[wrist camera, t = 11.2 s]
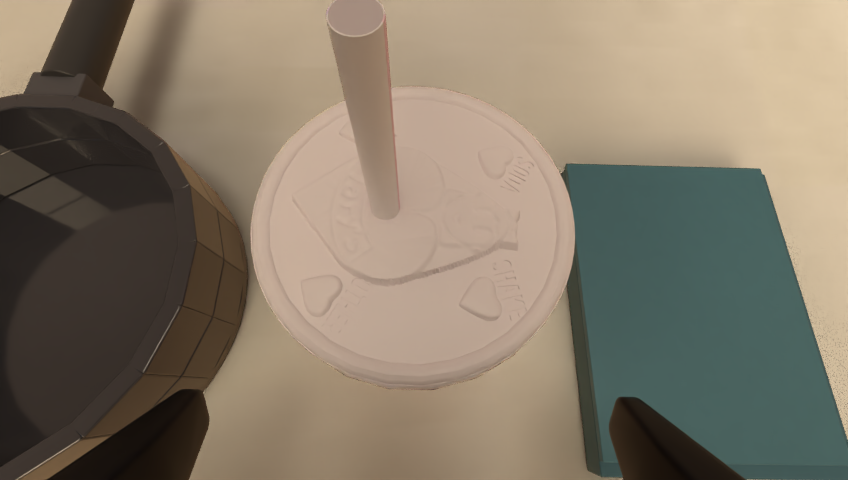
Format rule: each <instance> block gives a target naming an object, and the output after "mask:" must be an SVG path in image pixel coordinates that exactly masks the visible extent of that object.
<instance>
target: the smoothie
mask: <svg viewBox="0 0 848 480" xmlns="http://www.w3.org/2000/svg"><path fill="white" fill-rule="evenodd" d="M326 21H327V25H328V29H329V33H330V37H331V42H332V46H333V50H334V54H335V59H336V63H337V67H338V71H339V76H340V80H341V84H342V88H343V92H344V97H345V100H344V101H341V102H339V103H337V104H335V105H333V106H331V107H329V108H328V109H326V110H324V111H323V112H321V113H320V114H318V115H316V116H315V117H314V118H312V119H311V120H310V121H308V122H307V123H306V124H304V125H303V126H302V127H301V128H300V129H299V130H298V131H297V132H296V133H294V134H293V136H292V137H291V138H290V139H289V140H288V141H287V142H286V143H285V144H284V146H283V147H282V148H281V149H280V151H279V152H278V153H277V155H276V156H275V158H274V159H273V161H272V163H271V164H270V166H269V167H268V169H267V171H266V173H265V175H264V177H263V179H262V182H261V185H260V187H259V190H258V193H257V196H256V200H255V203H254V207H253V213H252V220H251V236H250V238H251V253H252V259H253V265H254V269H255V273H256V276H257V280H258V283H259V285H260V288H261V290H262V292H263V295H264V297H265V299H266V301H267V303H268V304H269V306H270V308H271V310H272V312H273V313H274V314H275V316H276V317H277V319H278V320H279V322H280V323H281V324H282V326H283V327H284V328H285V329H286V330H287V331H288V332H289V334H290V335H291V336H292V337H293V338H294V339H295V340H296V341H297V342H299V343H300V344H301V345H302V346H303V347H304V348H305V349H306V350H308V351H309V352H310V353H311V354H313V355H314V356H316V357H317V358H319V359H320V360H322V361H323V362H325V363H326V364H328V365H330V366H331V367H333V368H334V369H336V370H337V371H339V372H340V373H342V374H343V375H345V376H347V377H350V378H353V379H357V380H360V381H363V382H367V383H370V384H373V385H377V386H380V387H383V388H387V389H414V390H435V389H438V388H442V387H446V386H449V385H453V384H457V383H460V382H464V381H468V380H471V379H475V378H478V377H479V376H481V375H483V374H484V373H486V372H487V371H489V370H491V369H492V368H494V367H496V366H497V365H499V364H501V363H502V362H504V361H505V360H507V359H509V358H510V357H512V356H514V355H515V353H516V352H517V351H518V350H519V349H520V348H522V347H523V346H524V345H525V344H526V343H527V342H528V341H529V340H530V339H531V338H532V337H533V336H534V335H535V334H536V333H537V332H538V331H539V330H540V328H541V327H542V326H543V325H544V324H545V322H546V321H547V320H548V318H549V317H550V315H551V314H552V312H553V311H554V309H555V307H556V305H557V304H558V302H559V300H560V298H561V296H562V294H563V291H564V289H565V286H566V284H567V281H568V278H569V274H570V271H571V267H572V262H573V256H574V246H575V224H574V217H573V210H572V206H571V202H570V198H569V194H568V191H567V189H566V186H565V183H564V181H563V179H562V177H561V175H560V172H559V170H558V168H557V167H556V165H555V164H554V162H553V160H552V159H551V157H550V156H549V154H548V153H547V152H546V150H545V149H544V147H543V146H542V145H541V144H540V143H539V142H538V141H537V139H536V138H535V137H534V136H533V135H532V134H531V133H530V132H529V131H528V130H527V129H526V128H524V127H523V126H522V125H521V124H520V123H518V122H517V121H516V120H515V119H513V118H512V117H510V116H509V115H507V114H506V113H504V112H503V111H501V110H500V109H498V108H496V107H494V106H492V105H490V104H488V103H486V102H484V101H482V100H479V99H477V98H474V97H472V96H469V95H466V94H463V93H459V92H455V91H451V90H446V89H440V88H434V87H423V86H404V87H392V88H391V80H390V67H389V54H388V41H387V28H386V15H385V9H384V7H383V5H382V4H381V2H380V1H379V0H334V1H333V2H332V3H331V4H330V5H329V7H328V9H327V11H326Z"/></svg>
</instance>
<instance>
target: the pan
mask: <svg viewBox="0 0 848 480" xmlns="http://www.w3.org/2000/svg"><path fill="white" fill-rule="evenodd" d="M247 282H248V280H247V260H246V254H245V248H244V243H243V240H242V238H241V235H240V232H239V229H238V226H237V224H236V223H235V221H234V219H233V217H232V215H231V213H230V211H229V210H228V209H227V207H226V206H225V205H224V203H223V202H222V201H221V199H220V198H219V196H218V194H217V193H216V192H215V191H214V190H213V189H212V188H211V187H210V186H209V185H208V184H207V183H206V182H205V181H204V180H203V179H202V178H201V177H200V176H199V175H198V174H197V173H196V172H195V171H194V170H193V169H192V168H191V167H190V166H189V165H188V164H187V163H186V162H185V161H184V160H183V159H182V158H181V157H180V156H179V155H178V154H177V153H176V152H175V151H174V150H173V149H172V148H171V147H170V146H169V145H168V144H167V143H166V142H165V141H164V140H163V139H161V138H160V137H159V136H157V135H156V134H155V133H154V132H152V131H151V130H150V129H148V128H147V127H146V126H144V125H143V124H142V123H141V122H139V121H138V120H137V119H135V118H134V117H133V116H132V115H130V114H129V113H127V112H125V111H122V110H119V109H116V108H113V107H110V106H107V105H104V104H100V103H97V102H94V101H91V100H88V99H85V98H82V97H79V96H71V95H35V94H19V95H18V94H16V95H12V96H7V97H2V98H0V480H47V479H48V478H50V477H51V476H53V475H54V474H56V473H57V472H59V471H60V470H62V469H63V468H65V467H66V466H68V465H69V464H70V463H72V462H73V461H75V460H76V459H78V458H79V457H81V456H82V455H84V454H85V453H87V452H88V451H90V450H91V449H93V448H94V447H96V446H97V445H99V444H100V443H102V442H103V441H104V440H106V439H107V438H109V437H110V436H112V435H113V434H115V433H116V432H118V431H119V430H121V429H122V428H124V427H125V426H127V425H128V424H130V423H131V422H133V421H134V420H135V419H137V418H138V417H140V416H141V415H143V414H144V413H146V412H147V411H149V410H150V409H152V408H153V407H155V406H156V405H158V404H159V403H161V402H162V401H164V400H165V399H166V398H168V397H169V396H171V395H172V394H174V393H175V392H177V391H179V390H181V389H199V390H201V391H202V392H203V391H204V390H205V389H206V387H207V386H208V385H209V383H210V382H211V380H212V379H213V377H214V376H215V374H216V373H217V371H218V370H219V368H220V367H221V365H222V363H223V361H224V360H225V358H226V356H227V354H228V352H229V350H230V348H231V346H232V344H233V341H234V339H235V336H236V333H237V331H238V328H239V325H240V322H241V318H242V314H243V310H244V306H245V301H246V291H247Z"/></svg>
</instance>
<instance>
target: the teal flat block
mask: <svg viewBox="0 0 848 480" xmlns="http://www.w3.org/2000/svg"><path fill="white" fill-rule="evenodd" d="M561 177H562V179H563V181H564V183H565V186H566V189H567V191H568V194H569V198H570V202H571V206H572V210H573V217H574V224H575V246H574V256H573V262H572V267H571V271H570V274H569V278H568V281H567V285H568V294H569V304H570V313H571V322H572V331H573V340H574V349H575V358H576V367H577V377H578V386H579V395H580V404H581V413H582V422H583V431H584V440H585V449H586V459H587V468H588V471H590V472H592V473H594V474H596V475H599V476H601V477H623V476H622V473H621V470H620V466H619V463H618V460H617V457H616V453H615V450H614V447H613V444H612V441H611V437H610V434H609V422H610V418H611V415H612V411H613V408H614V405H615V401H616V399H617V398H618V397H637V398H639V399H641V400H642V401H644V402H645V403H646V404H648V405H649V406H650V407H652V408H653V409H654V410H655V411H657V412H658V413H659V414H661V415H662V416H663V417H665V418H666V419H667V420H669V421H670V422H671V423H673V424H674V425H675V426H676V427H678V428H679V429H680V430H682V431H683V432H684V433H686V434H687V435H688V436H690V437H691V438H692V439H693V440H695V441H696V442H697V443H699V444H700V445H701V446H703V447H704V448H705V449H707V450H708V451H709V452H711V453H712V454H713V455H714V456H716V457H717V458H718V459H720V460H721V461H722V462H724V463H725V464H726V465H728V466H729V467H730V468H732V469H733V470H734V471H735V472H737V473H738V474H739V475H741V476H742V477H743V478H745V479H761V480H848V440H847V437H846V434H845V430H844V427H843V424H842V421H841V418H840V415H839V411H838V408H837V405H836V402H835V399H834V395H833V392H832V389H831V386H830V383H829V379H828V376H827V373H826V370H825V367H824V364H823V360H822V357H821V354H820V351H819V348H818V344H817V341H816V338H815V335H814V332H813V328H812V325H811V322H810V319H809V316H808V313H807V309H806V306H805V303H804V300H803V297H802V293H801V290H800V287H799V284H798V281H797V277H796V274H795V271H794V268H793V265H792V262H791V258H790V255H789V252H788V249H787V246H786V242H785V239H784V236H783V233H782V230H781V226H780V223H779V220H778V217H777V214H776V211H775V207H774V204H773V201H772V198H771V195H770V191H769V188H768V185H767V182H766V179H765V175H763V174H762V172H761V169H754V168H715V167H676V166H637V165H598V164H566V166H565V170H564V171H563V173H562V174H561Z"/></svg>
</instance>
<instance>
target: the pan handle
mask: <svg viewBox="0 0 848 480" xmlns="http://www.w3.org/2000/svg"><path fill="white" fill-rule="evenodd" d="M134 1H135V0H72V2H71V4H70V7H69V9H68V11H67V13H66V16H65V18H64V20H63V23H62V25H61V27H60V29H59V32H58V34H57V36H56V39H55V41H54V43H53V46H52V48H51V50H50V52H49V55H48V57H47V59H46V62H45V64H44V66H43V68H42V71H41V73H40V72H34V73H33V74H32V76H31V78H30V81H29V83H28V85H27V87H26V90H25V92H24V94H35V95H71V96H79V97H82V98H85V99H88V100H91V101H94V102H97V103H100V104H104V105H107V106H110V107H113V104H114V101H113V100H112V99H111V98H110V97H109V96H108V95H107V94H106V93H105V92H104V91H103V90H102V89H103V86H104V83H105V80H106V78H107V75H108V72H109V69H110V67H111V64H112V61H113V58H114V56H115V53H116V50H117V47H118V45H119V42H120V39H121V36H122V34H123V31H124V28H125V25H126V23H127V20H128V17H129V14H130V12H131V9H132V6H133V3H134Z"/></svg>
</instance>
